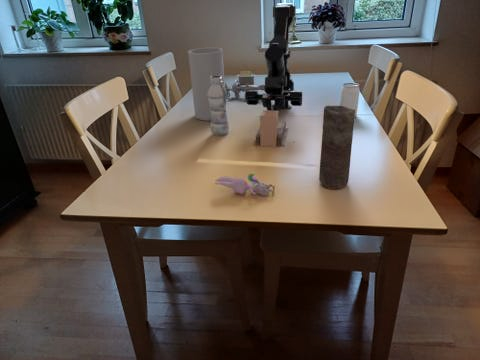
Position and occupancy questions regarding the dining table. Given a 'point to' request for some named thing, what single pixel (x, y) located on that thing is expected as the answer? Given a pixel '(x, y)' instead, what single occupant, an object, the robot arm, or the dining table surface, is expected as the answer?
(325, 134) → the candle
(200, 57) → the cylinder vase
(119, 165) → the dining table surface
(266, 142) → the block
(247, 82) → the platform
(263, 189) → the purple toy figure
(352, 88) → the can
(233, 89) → the spaceship
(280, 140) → the chute
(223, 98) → the plastic bottle
